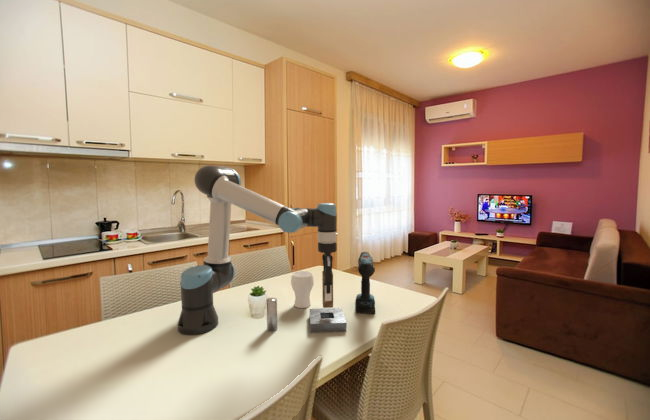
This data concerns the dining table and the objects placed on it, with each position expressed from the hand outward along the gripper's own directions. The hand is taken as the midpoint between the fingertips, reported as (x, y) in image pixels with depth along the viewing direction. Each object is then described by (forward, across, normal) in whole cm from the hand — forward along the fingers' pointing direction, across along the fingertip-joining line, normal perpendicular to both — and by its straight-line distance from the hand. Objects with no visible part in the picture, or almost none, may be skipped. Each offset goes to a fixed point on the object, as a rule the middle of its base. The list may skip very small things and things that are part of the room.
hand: (327, 298), depth 121 cm
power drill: (+11, +15, -19) cm, 26 cm away
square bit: (+3, 0, 0) cm, 3 cm away
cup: (+11, +20, +10) cm, 25 cm away
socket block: (+11, 0, 0) cm, 11 cm away
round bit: (+11, -3, +22) cm, 25 cm away
